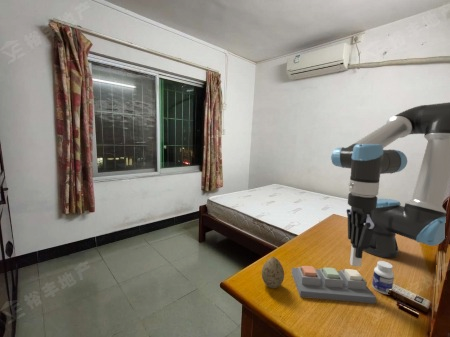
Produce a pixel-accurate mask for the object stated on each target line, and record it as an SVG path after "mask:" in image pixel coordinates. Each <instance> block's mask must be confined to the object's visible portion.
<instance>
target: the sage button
mask: <svg viewBox="0 0 450 337" xmlns="http://www.w3.org/2000/svg"><path fill="white" fill-rule="evenodd" d="M322 269H323V273H324V275H325V277H326V278H334V279H339V274H338V273H337V271H338V270H337V269H336V268H334V267H323V268H322Z"/></svg>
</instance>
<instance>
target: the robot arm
mask: <svg viewBox="0 0 450 337" xmlns="http://www.w3.org/2000/svg"><path fill="white" fill-rule="evenodd" d="M410 135H424V136H423V137H424V139H425V140H427V142H426V143H427V144H426V146H425V147H426V148H425V150H424V155H423V156H422V162H421V165H420V168H419V172H418V176H417V179H416V183H415V187H414V190H413V193H412V197H411V199H410V200H408V201H406V202H405V204H404V206H402V205H401V202H400V201H399V200H396V199H388V198H378V195H379V188H380V178H381V175H382V174H383V175H385V174H395V173H398V172H399V173H400V172H401V171H403V170H404V169H405V168H406V167H407V165H408V157H407V155H406V154H405V153H404V152H403V151H401V150H396V149H385V148H386V147H387V146H389V145H390V144H392V143H393V142H395V141H396V140H398V139H402V138H405V137H407V136H410ZM330 160H331V163H332V165H334V166H335V167H339V168H343V169H350V176H349V177H350V180H349V183H348V187H349V188H348V191H349V193H348V196H347V205H349V207H350V208H349V209H348V208H347V209H346V215H347V239H348V240H350V244H351V248H350V259H349V264H350V266H352V267H361V266H362V259H363V251H364V252H366V253H368V254H370V255H373V256H376V257H381V258H385V259H387V258H388V259H391V258H392V259H394V258H397V257H398V256H399V246H398V242H397V239H396V235H398V236H402V237H405V238H407V239H410V240H412V241H415V242H417V243H419V244H424V245H426V246H430V247H431V246H432V247H434V246H438V245H439V244H442V243H443V241H444V240H445V239H446V238H445V223H446V217H447V216H445V215H447V211H446V210H445V208H444V207H443V204H444V200H445V198H446V194H447V190H448V187H449V184H450V102H442V103H434V104H422V105H418V106H417V105H416V106H414V107H412V108H408V109H405V110H404V111H402V112H400V113H398V114H396V115H394V116H391V117H390V118H389V119H388V120H387V121H386V123H385V124H383V125H382V126H381V127H378V128H377V129H375V130H374V131H372V132H371V133H368V134H367V135H365V136H364V137H362V138H361V139H358V140H357V141H356V142H354V143H353V144H350V145H349V146H346V147H337V148H335V149H334V150H332V152H331V156H330Z"/></svg>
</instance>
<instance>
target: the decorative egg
mask: <svg viewBox="0 0 450 337" xmlns="http://www.w3.org/2000/svg"><path fill="white" fill-rule="evenodd" d="M261 279H262V281H263V283H264V284H265V286H267V287H269V288H271V289H276V288H279V287H280V286H281V285H282V284H283V282H284V280H285V269H284V268H283V265H282V263H281V262H280V261H279V259H278V258H277V257H275V256H272V257H270V258H268V259H267V260H266V261H265V262H264V264H263V265H262V269H261Z"/></svg>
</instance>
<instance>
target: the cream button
mask: <svg viewBox="0 0 450 337" xmlns="http://www.w3.org/2000/svg"><path fill="white" fill-rule="evenodd" d="M344 270H345V272H344V274H345V275H346V276H347V277H348V279H349V280H359V281H362V277H363V276H362V275H361V273H359V271H358V270H357V269H349V268H344Z"/></svg>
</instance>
